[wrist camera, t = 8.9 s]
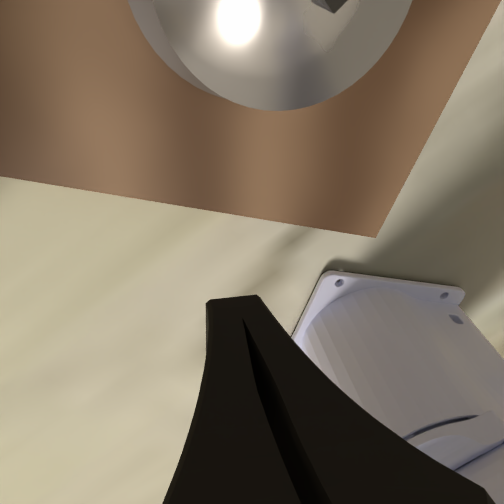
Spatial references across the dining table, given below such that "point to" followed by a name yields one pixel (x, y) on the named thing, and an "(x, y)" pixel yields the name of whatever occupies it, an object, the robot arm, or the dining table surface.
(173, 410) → the dining table surface
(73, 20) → the post base
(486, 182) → the dining table surface
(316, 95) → the steel cap
